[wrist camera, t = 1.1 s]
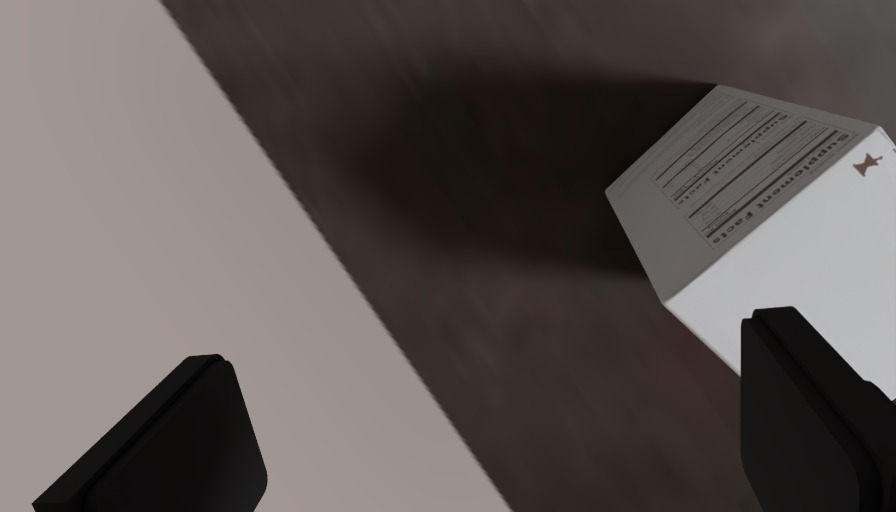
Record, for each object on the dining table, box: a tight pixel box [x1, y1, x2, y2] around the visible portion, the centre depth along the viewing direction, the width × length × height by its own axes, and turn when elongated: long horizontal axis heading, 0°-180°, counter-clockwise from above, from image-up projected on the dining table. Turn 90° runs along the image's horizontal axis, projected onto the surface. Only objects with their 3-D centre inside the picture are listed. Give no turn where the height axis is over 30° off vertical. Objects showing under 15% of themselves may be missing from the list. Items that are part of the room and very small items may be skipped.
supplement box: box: [605, 84, 896, 401], centre depth 29 cm, size 10×9×17 cm
